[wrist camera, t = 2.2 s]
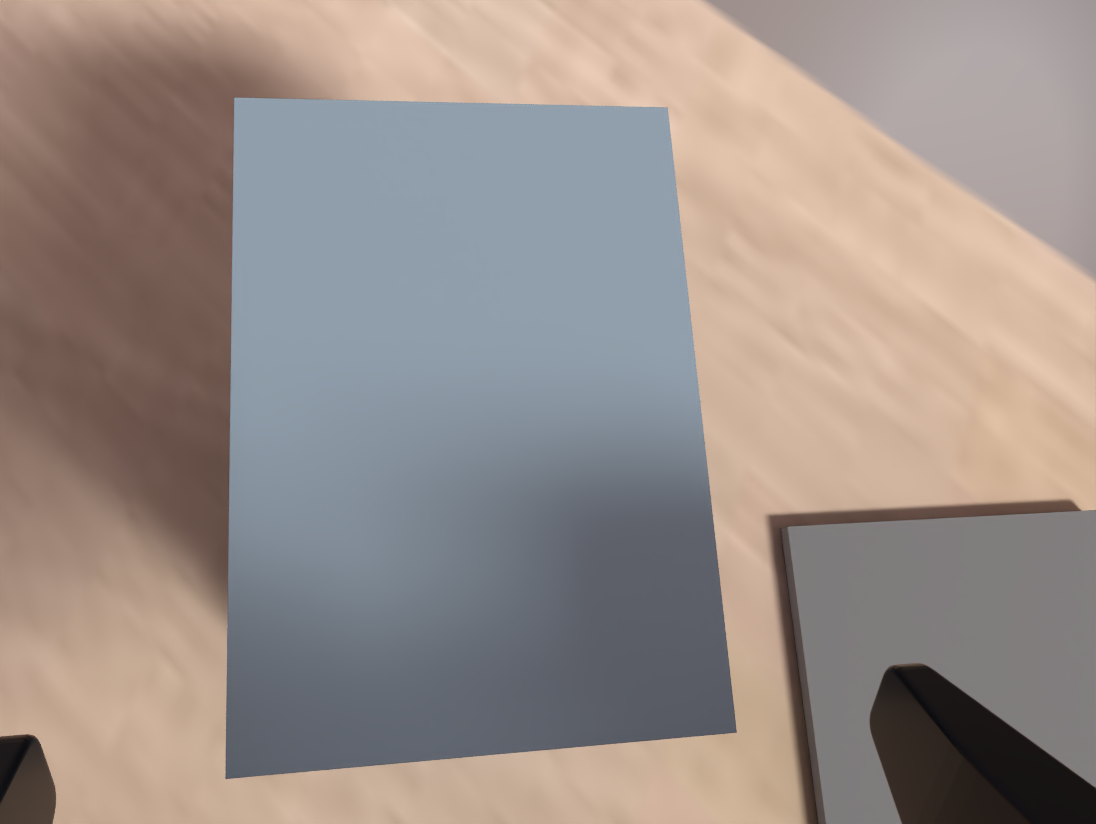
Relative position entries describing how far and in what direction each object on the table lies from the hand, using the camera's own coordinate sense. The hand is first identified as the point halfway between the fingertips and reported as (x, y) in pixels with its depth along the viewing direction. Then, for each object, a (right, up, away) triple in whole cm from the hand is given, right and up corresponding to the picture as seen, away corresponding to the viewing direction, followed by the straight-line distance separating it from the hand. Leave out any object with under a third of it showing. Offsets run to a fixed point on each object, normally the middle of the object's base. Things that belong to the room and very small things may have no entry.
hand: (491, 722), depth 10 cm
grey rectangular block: (-2, +1, +11) cm, 11 cm away
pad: (+10, -3, +12) cm, 16 cm away
